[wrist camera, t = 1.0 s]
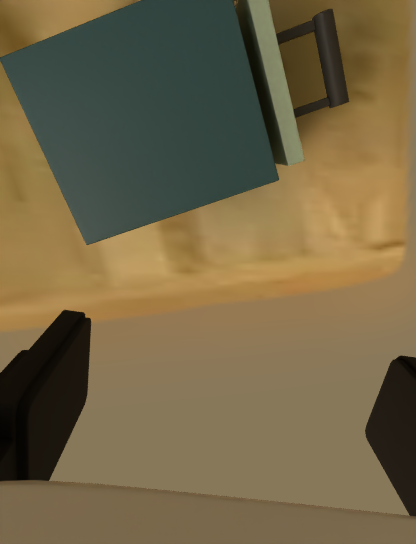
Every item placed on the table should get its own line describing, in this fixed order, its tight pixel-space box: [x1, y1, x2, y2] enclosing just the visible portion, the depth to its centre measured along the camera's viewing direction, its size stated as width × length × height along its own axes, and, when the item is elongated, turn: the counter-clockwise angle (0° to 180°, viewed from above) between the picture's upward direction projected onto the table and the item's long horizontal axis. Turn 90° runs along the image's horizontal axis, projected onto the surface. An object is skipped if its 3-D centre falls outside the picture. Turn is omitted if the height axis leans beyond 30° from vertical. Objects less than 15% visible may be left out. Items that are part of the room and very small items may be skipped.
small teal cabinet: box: [0, 0, 279, 245], centre depth 27 cm, size 15×13×9 cm
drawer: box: [236, 0, 349, 166], centre depth 26 cm, size 18×11×7 cm, turn 108°
